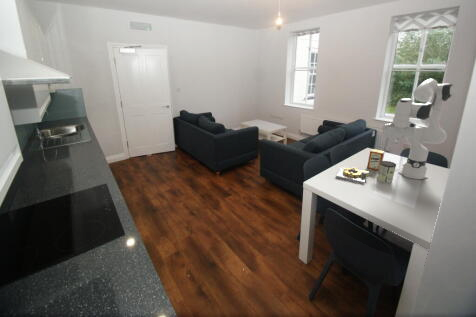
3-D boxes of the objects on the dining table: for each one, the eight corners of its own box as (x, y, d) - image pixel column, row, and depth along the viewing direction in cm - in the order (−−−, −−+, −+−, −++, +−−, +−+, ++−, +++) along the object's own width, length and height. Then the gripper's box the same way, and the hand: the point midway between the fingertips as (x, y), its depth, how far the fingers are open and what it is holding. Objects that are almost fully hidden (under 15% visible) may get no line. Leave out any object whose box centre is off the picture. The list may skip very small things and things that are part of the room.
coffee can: (380, 176, 184) (384, 159, 179) (394, 180, 176) (398, 163, 171) (373, 179, 179) (377, 162, 174) (388, 184, 171) (392, 167, 166)
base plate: (341, 169, 198) (342, 162, 196) (367, 174, 188) (368, 167, 185) (335, 177, 183) (336, 171, 181) (363, 184, 172) (365, 176, 170)
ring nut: (345, 168, 193) (346, 164, 191) (368, 173, 183) (369, 169, 182) (341, 174, 183) (342, 170, 181) (366, 179, 174) (367, 175, 172)
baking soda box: (381, 168, 198) (384, 150, 192) (379, 171, 193) (383, 153, 187) (368, 165, 203) (372, 148, 197) (366, 168, 199) (370, 150, 193)
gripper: (386, 124, 151) (382, 145, 156) (419, 124, 150) (413, 144, 155) (381, 122, 157) (377, 142, 162) (412, 122, 156) (407, 142, 161)
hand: (395, 143), depth 159 cm, fingers closed
